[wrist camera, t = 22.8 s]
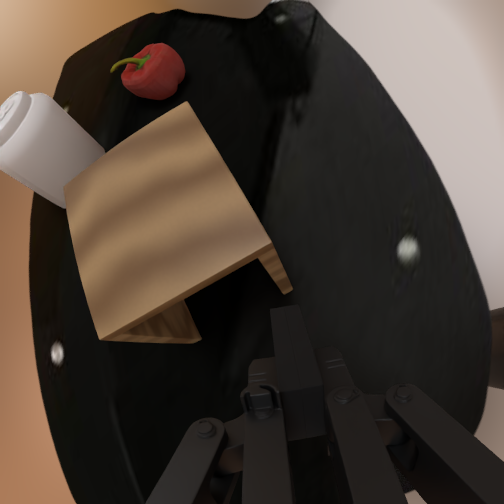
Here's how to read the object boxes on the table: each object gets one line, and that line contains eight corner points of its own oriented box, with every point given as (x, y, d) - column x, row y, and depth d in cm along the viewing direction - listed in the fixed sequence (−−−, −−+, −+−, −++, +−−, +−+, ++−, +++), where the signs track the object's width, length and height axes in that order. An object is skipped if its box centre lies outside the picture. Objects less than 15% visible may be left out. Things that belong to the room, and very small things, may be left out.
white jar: (74, 146, 49) (6, 86, 30) (120, 145, 46) (47, 68, 27) (47, 206, 46) (-34, 156, 27) (90, 214, 43) (-4, 152, 24)
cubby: (293, 289, 34) (272, 242, 18) (193, 343, 34) (99, 340, 18) (237, 192, 39) (186, 100, 22) (151, 244, 39) (62, 186, 23)
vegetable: (137, 122, 46) (107, 85, 37) (134, 88, 50) (109, 53, 40) (196, 94, 45) (173, 51, 36) (185, 63, 49) (166, 24, 39)
